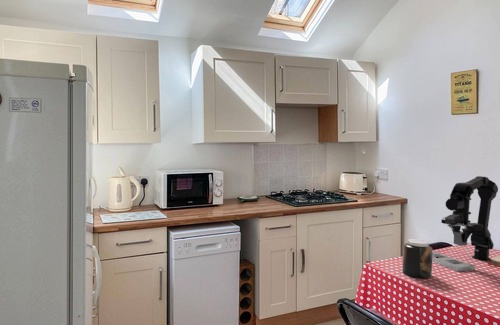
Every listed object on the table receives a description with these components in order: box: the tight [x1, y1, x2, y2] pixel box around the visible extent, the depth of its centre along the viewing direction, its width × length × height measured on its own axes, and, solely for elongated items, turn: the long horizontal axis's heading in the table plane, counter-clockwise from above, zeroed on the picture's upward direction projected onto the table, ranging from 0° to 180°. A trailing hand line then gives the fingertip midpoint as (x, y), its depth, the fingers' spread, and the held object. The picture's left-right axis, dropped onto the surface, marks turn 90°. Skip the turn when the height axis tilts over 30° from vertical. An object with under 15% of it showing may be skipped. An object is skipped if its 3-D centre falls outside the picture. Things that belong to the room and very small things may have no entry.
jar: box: [402, 238, 433, 280], centre depth 160 cm, size 12×12×15 cm
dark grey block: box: [453, 230, 468, 247], centre depth 173 cm, size 4×4×6 cm
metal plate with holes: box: [432, 250, 476, 273], centre depth 178 cm, size 10×24×2 cm, turn 18°
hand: (460, 241), depth 174 cm, fingers closed on dark grey block, 4 cm apart
